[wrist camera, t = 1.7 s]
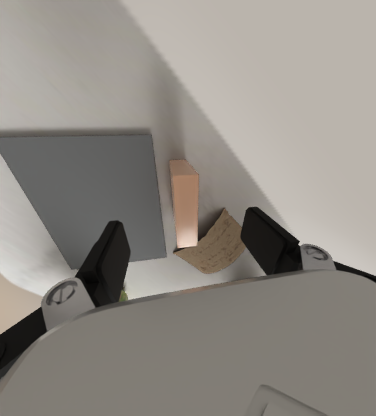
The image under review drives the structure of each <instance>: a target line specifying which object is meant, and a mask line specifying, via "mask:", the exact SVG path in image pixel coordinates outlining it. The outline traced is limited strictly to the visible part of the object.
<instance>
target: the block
mask: <svg viewBox="0 0 376 416" xmlns="http://www.w3.org/2000/svg"><path fill="white" fill-rule="evenodd" d="M169 162H170V175H171V189H172V202H173V214H174V222H175V231H176V239H177V247H178V248H184V247H192V246H197V236H198V190H199V174H198V173H197V172H196V171H195V169H194V168H193V167H192V166H191V165H190V164H189V163H188V161H187V160H186V159H184V160H169Z"/></svg>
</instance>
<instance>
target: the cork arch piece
mask: <svg viewBox="0 0 376 416" xmlns="http://www.w3.org/2000/svg"><path fill="white" fill-rule="evenodd" d="M225 209H226V208H225ZM225 209H224V210H223V212H222V214H221V215H220V218H219V219H218V220H217V221H216V222H215V225H213V226H212V227H211V229H210V230H209V231H208V233H207V234H206V236H205V237H203V238H202V239H201V240H200V241H198V242H197V246H192V247H188V248H185V249H182V250H180V251H177V252H175V253H173V254H176V255H178V256H179V257H181V258H182V259H184V260H185V261H187V262H188V263H190V264H191V265H193V266H194V267H196V268H197V269H198V270H200V271H201V272H203V273H206V274H210V273H214V272H217V271H220V270H221V269H224V268H226V267H227V266H229V265H230V264H231V263H233V262H234V261H235V260H236V259H237V258H238V257H239V256H240V254H241V253H242V252H243V251H244V249H245V247H246V246H245V245H244V243H243V242H242V240H241V238H240V235H241V230H242V227H241V226H240V225H239V224H238V223H237V222H236V221H235V220H234V219H233V217H232V216H230V215H229V214H228V211H226V210H225Z"/></svg>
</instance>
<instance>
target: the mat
mask: <svg viewBox="0 0 376 416" xmlns="http://www.w3.org/2000/svg"><path fill="white" fill-rule="evenodd" d="M0 154H1V155H2V157H3V158H4V160H5V162H6V163H7V165H8V167H9V168H10V170H11V172H12V173H13V175H14V176H15V178H16V180H17V181H18V183H19V185H20V186H21V188H22V190H23V191H24V193H25V194H26V196H27V198H28V199H29V201H30V203H31V204H32V206H33V208H34V209H35V211H36V212H37V214H38V216H39V217H40V219H41V221H42V222H43V224H44V225H45V227H46V229H47V230H48V232H49V234H50V235H51V237H52V239H53V240H54V242H55V243H56V245H57V247H58V248H59V250H60V252H61V253H62V255H63V257H64V258H65V260H66V261H67V263H68V265H69V266H70V268H71V270H72V269H79V268H81V266H82V264H83V262H84V261H85V259H86V257H87V256H88V254H89V252H90V250H91V249H92V247H93V245H94V244H95V243H96V242H97V241H98V239H99V238H100V236H101V234H102V232H103V231H104V229H105V227H106V225H107V224H108V222H109V221H114V220H119V221H120V222H122V223H123V226H124V230H125V233H126V236H127V240H128V243H129V246H130V250H131V255H130V259H129V262H134V261H142V260H150V259H157V258H165V257H166V248H165V240H164V232H163V224H162V216H161V208H160V200H159V191H158V183H157V175H156V167H155V159H154V151H153V143H152V135H108V136H51V137H0Z"/></svg>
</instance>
